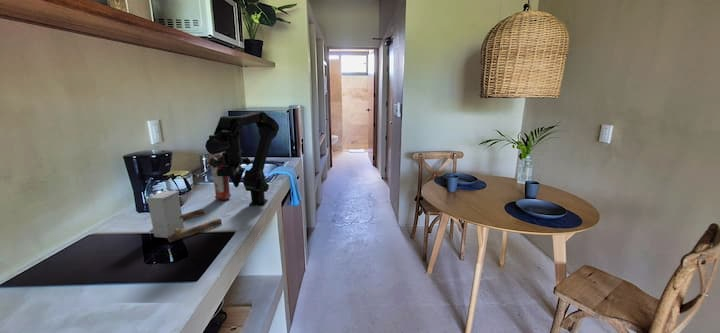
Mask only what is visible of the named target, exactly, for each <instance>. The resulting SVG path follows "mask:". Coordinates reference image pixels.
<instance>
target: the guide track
mask: <svg viewBox="0 0 720 333" xmlns="http://www.w3.org/2000/svg"><path fill="white" fill-rule="evenodd" d="M204 215H205V209H204V208H200V209H196V210H193V211H190V212H185V213H183V214H182V218H183V220H184V221H186V219H187V220H190V219H193V218H196V216H197V217H200V216H204ZM192 217H193V218H192ZM189 218H190V219H189ZM219 224H221V225H222V219H221V218H217V219H214V220H211V221H208V222H204V223H200V224H199V225H196V226H192V227H190V228H186V229H182V230H180V229H179V228H176V229H174V231H175V233H174V234H171V235H168V238H167V241H168V242H169V243H172V242H175V241H179V240H180V239H185V238H186V237H190V236H192V235H195V234H198V233H201V232H204V231H206V229H207V230H209V229H208V228H210V229H212V228H211V227H213V228H215V227H214V226H216V225H218V226H220V225H219ZM216 227H217V226H216Z"/></svg>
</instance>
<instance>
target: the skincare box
mask: <svg viewBox="0 0 720 333" xmlns="http://www.w3.org/2000/svg"><path fill="white" fill-rule="evenodd" d="M146 199H147V203H148V204H147V205H148V210H149V214H150V220H151V225H152V230H153V236H154V237H155V238H164V239H168V235H171V234H174V233H175V231H174V229H176V228H179V229H180V231H182V230H184V229H185V225H184V224H185V223H184V221H183V218H182V215H183V214H182V208H181V202H180V196H179V191H178V190H164V191H161V192H158V193H155V194H153V195H151V196H149V197H147V198H146ZM181 229H182V230H181Z"/></svg>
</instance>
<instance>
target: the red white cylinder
mask: <svg viewBox="0 0 720 333" xmlns="http://www.w3.org/2000/svg"><path fill="white" fill-rule="evenodd" d="M220 156H222V152H221V153H218V154H214V157H216V158H217V157H220ZM222 166H223V165H220V166H217V167H216V168H213V166H211V165H210V170H211V175H212V180H213V184H214V186H213V187H214V192H215V197H214V199H216V200H217V201H226V200H229V199H230V197H232V194H231V191H230V181H229V178H230V176H217V172H216V171H217V170H218V169H219V168H221V167H222Z"/></svg>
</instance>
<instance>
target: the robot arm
mask: <svg viewBox="0 0 720 333" xmlns="http://www.w3.org/2000/svg"><path fill="white" fill-rule="evenodd" d="M252 124H255V126H256V127H257V128H258V135H259V140H258V144H257V146H256V151H255V155H254V159H253V161H252V165H251V167H250V169H246V168H245V167H243V166H242V165H246V166H249V165H250V164H251V160H250V158H249V157H248V156H247V157H243V156H242V153H243V149H242V150H241V142H240V137H242V136H243V135H244V133H242V132H240V131H241V130H243V129H244V127H247V126H248V125H252ZM279 130H280V126H279V124H278V122H277V121H276V120H275V119H274V118H273V117H271V116H269V115H268V114H267V113H266V112H265V111H256V110H255V111H253V112H250V113H245V114H241V115H237V116H232V115H231V116H226V115H225V116H224V115H223V116H220V118H219V120H218V122H217V125H216V128H215V130H214V132H213V134H212V135H211V134H210V135H209V136H208V139H207V140H206V142H205V144H204V145H205V149H206V151H207V152H208V153H209V155H214V156H213V157H210V158H209V166H210V167H211V166H213V168H216V167H217V166H220V165H223V166H222V167H221V168H219V169H218V170H217V171H216V172H217V176H229V178H230V179H231V180H230V181H231V182H232V184H233V187H234V188H239V186H240V183H241V180H242V179H243V180H242V184H243V186H244V189H245V191H247V192H248V191H249V192H250V198H251V202H250V203H249V204H248V206H253V205H254V206H255V205H257V206H262V207H263V206H265V204H266V203H267V202H268V199H266V197H265V192H268V190H269V186H270V185H269V184H268V182H267V181H265V180H266V179H265V178H266V177H265V173H264V170H265V169H264V168H265V165H266V161H267V157H268V153H269V150H270V146H271V144H272V143H271V142H272V140H274V139H275V138H276V137H277V135H278V133H279ZM218 153H221V154H222V156H220V157H217V158H216V157H215V154H218ZM242 177H243V178H242ZM255 207H256V206H255Z"/></svg>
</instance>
